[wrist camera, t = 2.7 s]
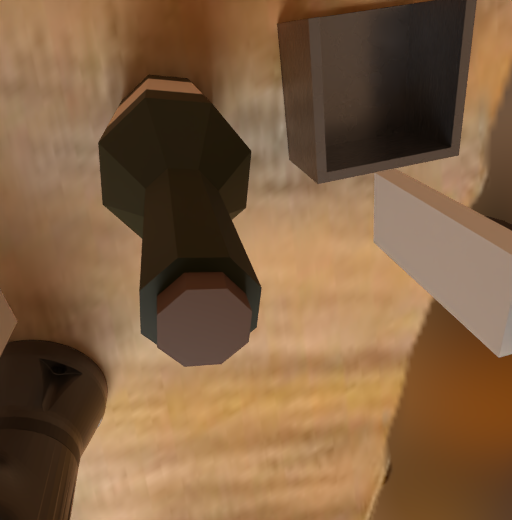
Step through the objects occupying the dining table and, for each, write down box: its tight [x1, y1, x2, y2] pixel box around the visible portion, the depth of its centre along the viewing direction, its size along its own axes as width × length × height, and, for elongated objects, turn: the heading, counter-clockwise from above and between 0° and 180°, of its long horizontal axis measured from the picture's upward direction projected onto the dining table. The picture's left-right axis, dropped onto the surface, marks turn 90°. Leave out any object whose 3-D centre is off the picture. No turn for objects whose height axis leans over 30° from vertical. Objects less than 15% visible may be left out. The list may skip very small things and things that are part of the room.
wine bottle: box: [98, 75, 261, 367], centre depth 23 cm, size 8×8×30 cm
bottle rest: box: [277, 0, 477, 184], centre depth 34 cm, size 13×12×8 cm
